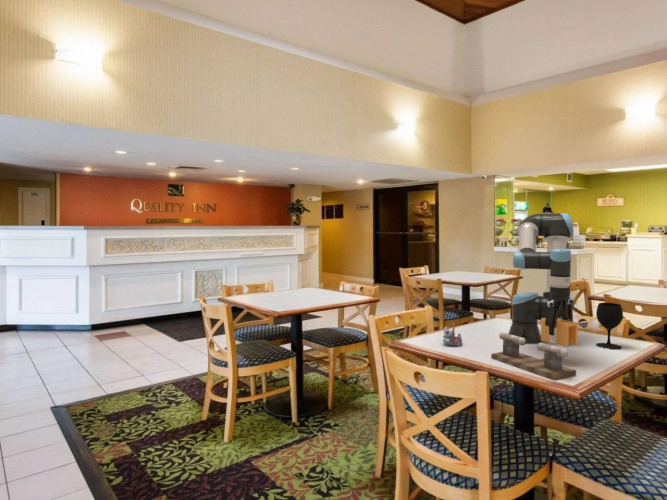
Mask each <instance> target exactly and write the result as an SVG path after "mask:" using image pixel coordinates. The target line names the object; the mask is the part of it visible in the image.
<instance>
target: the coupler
mask: <svg viewBox="0 0 667 500" xmlns="http://www.w3.org/2000/svg"><path fill="white" fill-rule="evenodd" d="M578 325H579V324H578V322H575V321H573V322H572V321H568V320H563V319H558V318H557V321H556V325H555V327H556V328H557V335H556V344H555V343H551V342H549V327H548V326H546V325H545V318H542V319H541V320H540V335H541V341H543V342H547V343H550V344H554V345H556V346H557V345H558V346H561V347H564V348H569V345H573V346H578V334H579V332H578V331H579V330H578V327H579V326H578Z"/></svg>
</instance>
